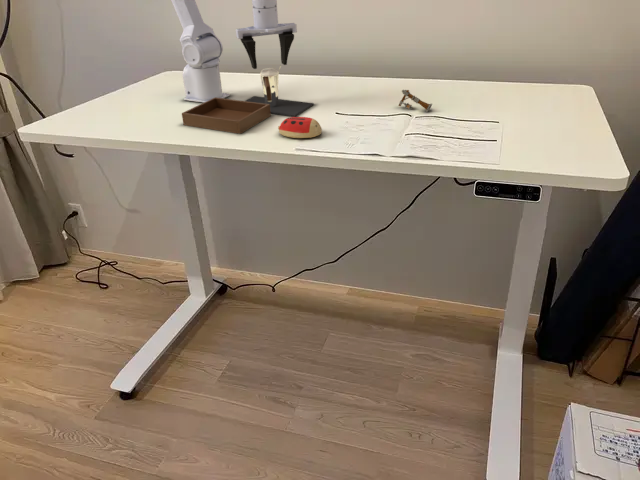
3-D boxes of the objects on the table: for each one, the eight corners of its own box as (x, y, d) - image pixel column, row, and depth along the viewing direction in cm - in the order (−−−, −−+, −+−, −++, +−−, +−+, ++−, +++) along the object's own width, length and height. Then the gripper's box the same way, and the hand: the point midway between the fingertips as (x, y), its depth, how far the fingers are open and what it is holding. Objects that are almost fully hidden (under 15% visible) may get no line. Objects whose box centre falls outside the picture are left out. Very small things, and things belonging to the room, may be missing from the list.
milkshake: (281, 108, 140) (278, 67, 135) (260, 107, 141) (257, 67, 136) (286, 102, 144) (283, 62, 138) (265, 102, 145) (262, 62, 139)
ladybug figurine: (319, 140, 121) (319, 124, 119) (275, 139, 122) (273, 123, 121) (324, 129, 127) (323, 114, 125) (281, 128, 128) (280, 113, 126)
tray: (183, 125, 133) (181, 113, 131) (216, 108, 143) (214, 97, 141) (240, 133, 126) (239, 121, 125) (270, 115, 136) (269, 104, 135)
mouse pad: (232, 108, 142) (232, 107, 142) (254, 97, 150) (254, 96, 150) (294, 116, 135) (294, 115, 135) (314, 104, 142) (313, 103, 142)
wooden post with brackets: (397, 102, 139) (404, 86, 136) (424, 118, 137) (433, 103, 134) (394, 104, 137) (402, 88, 134) (422, 121, 136) (430, 105, 133)
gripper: (238, 12, 125) (245, 73, 132) (299, 6, 130) (302, 65, 137) (231, 7, 131) (237, 66, 138) (289, 2, 135) (293, 59, 142)
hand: (269, 66), depth 138 cm, fingers open, 7 cm apart
